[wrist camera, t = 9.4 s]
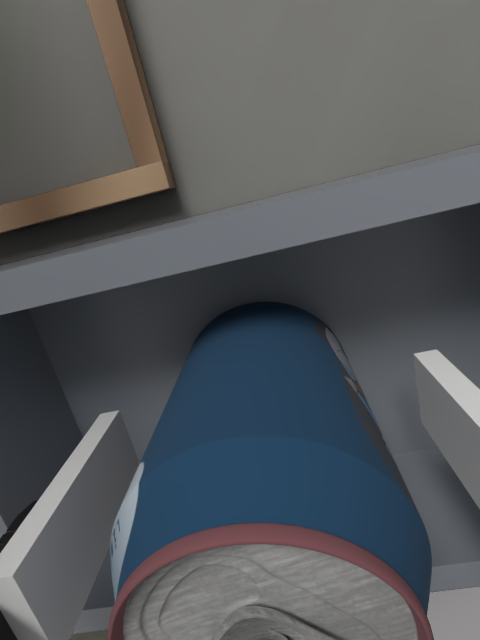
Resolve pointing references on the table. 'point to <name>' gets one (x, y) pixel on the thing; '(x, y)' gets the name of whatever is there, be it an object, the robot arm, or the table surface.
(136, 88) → the walnut rim
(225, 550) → the soda can
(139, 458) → the slate gray bin
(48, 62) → the table surface
